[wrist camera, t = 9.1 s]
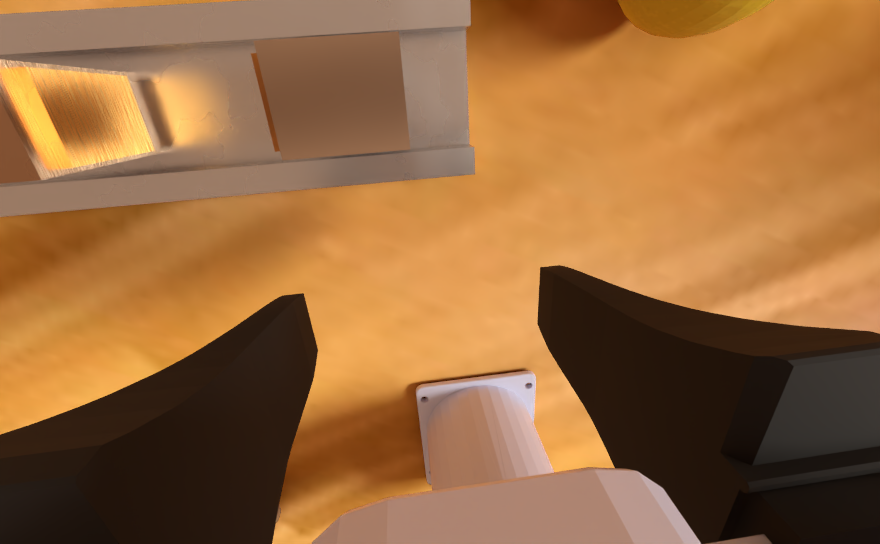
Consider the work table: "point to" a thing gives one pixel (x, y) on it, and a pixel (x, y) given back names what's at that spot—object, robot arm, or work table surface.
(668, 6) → the lemon
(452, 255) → the work table surface
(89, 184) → the rail
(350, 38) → the brown rectangular block
